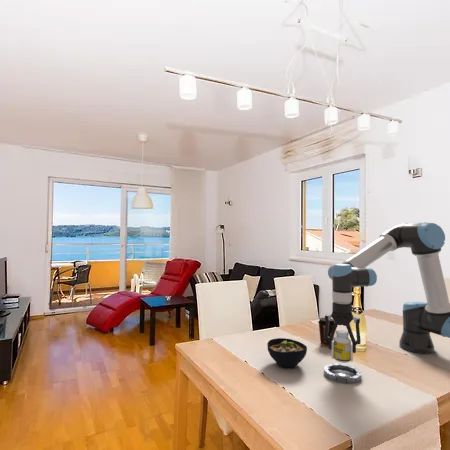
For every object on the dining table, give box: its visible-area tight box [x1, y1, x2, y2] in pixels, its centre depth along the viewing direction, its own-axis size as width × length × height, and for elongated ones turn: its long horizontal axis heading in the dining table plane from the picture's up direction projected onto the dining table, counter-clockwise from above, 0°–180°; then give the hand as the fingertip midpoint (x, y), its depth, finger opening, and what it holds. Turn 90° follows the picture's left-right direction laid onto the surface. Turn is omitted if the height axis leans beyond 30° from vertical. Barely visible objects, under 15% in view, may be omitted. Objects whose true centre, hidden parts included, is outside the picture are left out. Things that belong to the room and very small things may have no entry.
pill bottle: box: [333, 329, 352, 364], centre depth 129 cm, size 6×6×12 cm
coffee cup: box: [317, 317, 335, 347], centre depth 166 cm, size 9×8×13 cm
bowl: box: [266, 337, 308, 370], centre depth 139 cm, size 17×17×10 cm
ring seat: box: [323, 363, 362, 385], centre depth 129 cm, size 14×14×2 cm
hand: (342, 358), depth 129 cm, fingers closed on pill bottle, 6 cm apart
